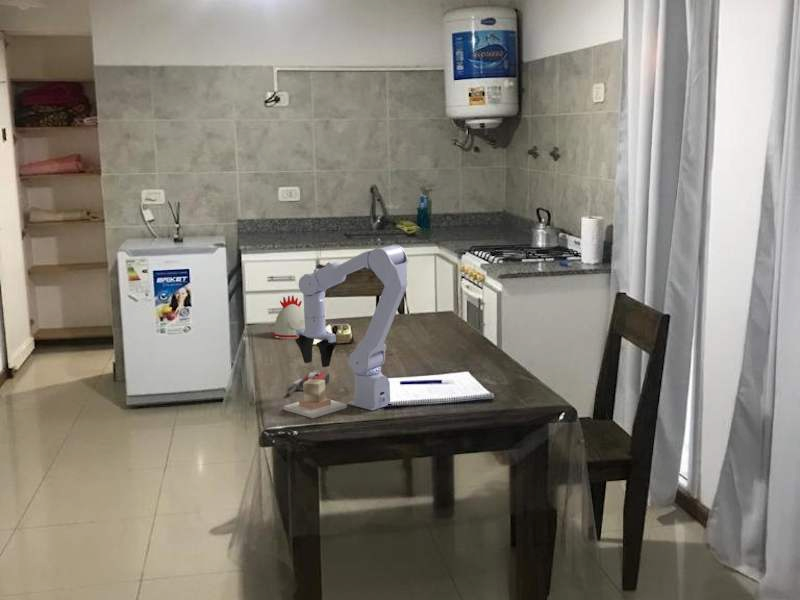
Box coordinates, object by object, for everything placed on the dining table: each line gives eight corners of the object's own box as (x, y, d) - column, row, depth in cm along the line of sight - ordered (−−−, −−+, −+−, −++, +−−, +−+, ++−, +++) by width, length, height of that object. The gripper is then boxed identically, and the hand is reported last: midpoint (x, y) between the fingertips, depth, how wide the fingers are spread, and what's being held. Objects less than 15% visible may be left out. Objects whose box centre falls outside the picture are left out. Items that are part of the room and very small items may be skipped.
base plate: (347, 407, 249) (346, 398, 248) (312, 418, 240) (312, 408, 240) (317, 399, 257) (317, 391, 257) (283, 409, 249) (283, 400, 248)
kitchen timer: (269, 334, 347) (267, 294, 344) (304, 330, 352) (302, 291, 350) (280, 341, 334) (278, 300, 332) (316, 336, 340) (314, 296, 337)
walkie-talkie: (302, 380, 280) (285, 398, 261) (302, 366, 279) (284, 383, 260) (331, 380, 279) (315, 399, 259) (330, 366, 278) (315, 383, 259)
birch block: (325, 398, 250) (324, 379, 249) (319, 402, 246) (318, 384, 245) (310, 397, 251) (309, 379, 250) (304, 401, 247) (303, 383, 246)
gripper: (343, 317, 254) (345, 365, 256) (308, 311, 264) (310, 357, 266) (323, 321, 249) (325, 370, 251) (289, 315, 259) (291, 362, 261)
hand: (316, 364), depth 258 cm, fingers open, 7 cm apart
